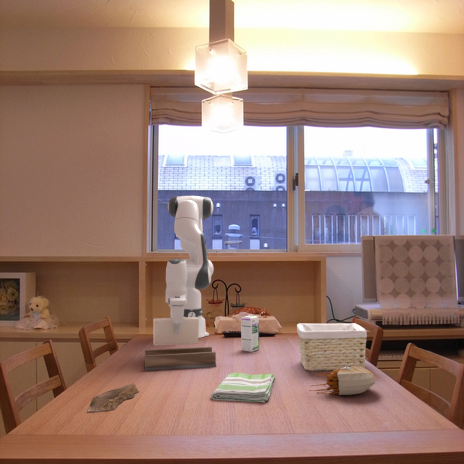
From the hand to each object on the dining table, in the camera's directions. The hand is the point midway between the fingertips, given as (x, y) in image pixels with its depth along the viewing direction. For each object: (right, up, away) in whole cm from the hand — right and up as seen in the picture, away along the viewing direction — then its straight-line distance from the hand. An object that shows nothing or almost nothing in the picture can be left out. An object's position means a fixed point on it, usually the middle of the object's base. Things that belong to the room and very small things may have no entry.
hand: (176, 331), depth 177 cm
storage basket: (+60, -9, -17) cm, 63 cm away
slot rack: (+3, -9, -14) cm, 17 cm away
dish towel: (+27, -9, -42) cm, 51 cm away
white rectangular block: (0, -5, 0) cm, 5 cm away
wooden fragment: (-12, -9, -49) cm, 51 cm away
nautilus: (+57, -8, -46) cm, 73 cm away
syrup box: (+31, -10, +10) cm, 34 cm away
